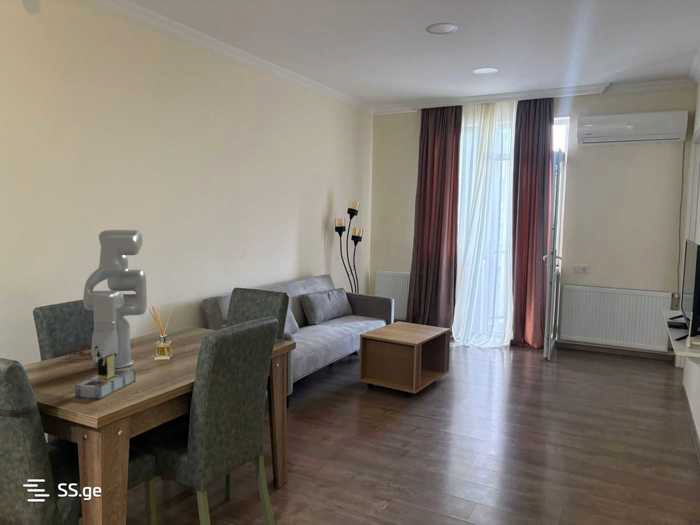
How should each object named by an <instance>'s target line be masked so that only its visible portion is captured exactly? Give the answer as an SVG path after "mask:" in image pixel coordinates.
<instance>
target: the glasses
mask: <svg viewBox="0 0 700 525" xmlns="http://www.w3.org/2000/svg"><path fill="white" fill-rule="evenodd" d="M82 347H83V350H82ZM86 348H89V349H91V348H92V345H91V346H90V345H86V343H82V344H81V345H80V346H79V347H72V348H71V350H70V351H69V357H70V356H71V357H72V354H73V355H78V356H83V357H84V356H91V357H92V354H91V353H85V354H84V352H85V350H86ZM73 350H74V351H73ZM78 350H79V352H77V351H78ZM81 352H83V353H81Z"/></svg>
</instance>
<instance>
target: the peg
mask: <svg viewBox="0 0 700 525" xmlns="http://www.w3.org/2000/svg"><path fill="white" fill-rule="evenodd" d="M100 357H101V355H100ZM100 359H101V358H100ZM101 360H102V359H101ZM105 365H106V375H105V376H102V375H98V374H97V376H98V379H99V380H110V379H112V378H114V369H115V368H114V355H109V356H107V357H106V360H105Z"/></svg>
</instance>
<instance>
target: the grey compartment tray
mask: <svg viewBox="0 0 700 525" xmlns="http://www.w3.org/2000/svg"><path fill="white" fill-rule="evenodd" d="M133 383H136V370H134V369H133V370H132V369H123V368H114V378H112V379H110V380H99V379H98V375H95V376H93V377H91V378H89V379H86V380H85V381H82V382H79V383H78V384H75V385H74V397H77V398H76V399H86V398H89V400H98V399H100V400H102V399H104V398H105V396H106V397H108V396H110V395H112V394H114V393H116V392H118V391H120V390H122V389H123V388H125V387H127V386H129V385H132V384H133ZM121 388H122V389H121ZM119 389H120V390H119ZM117 390H118V391H117ZM115 391H116V392H115ZM113 392H114V393H113ZM111 393H112V394H111ZM109 394H110V395H109ZM107 395H108V396H107ZM103 397H104V398H103ZM101 398H102V399H101Z"/></svg>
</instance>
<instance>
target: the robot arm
mask: <svg viewBox="0 0 700 525" xmlns="http://www.w3.org/2000/svg"><path fill="white" fill-rule="evenodd" d="M98 240H99V244H100V253H99V254H100V256H99V264H98V268H97V269H96V270H94V271H93V272H92V273H91V274H90V275H89V276H88V278H87V280H86V281H85V284H84V289H83V296H82V299H83V300H82V303H83V307H84V308H85V309H86V310H88V311H93V330H94V331H93V332H92V338H91V347H92V348H90V349H91V353H90V354H92V356H91V357H92V361H93V362H94V363H96V365H97V376H98V375H102V376H105V375H106V365H105V360H106V357H107V356H109V355H114V369H123V368H127V367H131V366H133V365H134V364H135V359H132V358H131V357H132V356H131V353H132V352H131V326H130V323H129V321H128V319H126V318H125V317H126V316H127V317H128V316H142V315H144V314H145V313H146V311H147V305H148V304H147V298H148V296H147V277H146V273H145V272H144V271H143V270H142V269H130V268H129V258H128V256H137V255H138V254H139V253H140V250H141V247H142V245H143V235H142V232H140V231H139V230H135V229H106V230H102V231H101V232H100V233H99V234H98ZM106 280H107V281H106ZM103 281H106V282H107V287H108V288H107V289H108V290H94V289H95V287H96V286H97V285H98V284H100V283H102V282H103ZM122 292H134V293H122ZM100 356H101V357H100ZM100 358H101V359H102V360H101V359H100Z"/></svg>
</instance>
